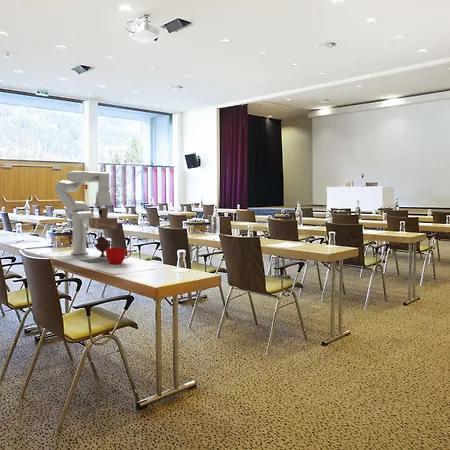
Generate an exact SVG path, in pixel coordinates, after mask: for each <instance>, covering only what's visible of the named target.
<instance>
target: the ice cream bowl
mask: <svg viewBox="0 0 450 450" xmlns="http://www.w3.org/2000/svg"><path fill="white" fill-rule="evenodd" d="M94 246H95V248H96V250H97V251H99V252H100V253H101V254H100V255H98V258H105V257H106V254H105V252H106V249H108V248H111V243H110V242H109V240H108V239H107V238H105V237H104V236H99V237H97V238H96V243H95V244H94ZM106 258H107V257H106Z"/></svg>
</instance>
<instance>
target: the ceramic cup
mask: <svg viewBox="0 0 450 450" xmlns="http://www.w3.org/2000/svg"><path fill="white" fill-rule="evenodd" d="M128 252H129V254H128V256H126V255H127V254H126V253H128ZM105 256H106V260H108V262H107V263H109V264H111V265H118V264H120V265H121V264H122V263H123V262H124V261H125V259H128V258H130V256H132V251H131V250H126V248H122V247H121V248H120V247H109V248H108V249H106V251H105Z"/></svg>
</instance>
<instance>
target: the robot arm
mask: <svg viewBox="0 0 450 450" xmlns="http://www.w3.org/2000/svg"><path fill="white" fill-rule="evenodd" d="M65 176H66V180H60V181H57V182H56V183H55V185H54V191H55V195H56V196H57V197H58V199H59V200H60V201H61V202H62V204H63V206H64V207H65V209H66V210H67V211H68V213H69V214H71V222H72V248H71V249H72V251H70V254H71V255H88V254H89V251H87V228H86V226H85V225H89V217H95V214H94V213H93V211H92V209H91V208H90V206H89V205H88V204H87V203H86V202H85V201H78V200H75V199H74V198H73V196H72V195H71V194H70V193H75V192H77V191H78V190H79V189H80V188H81V186H82V185H83V184H84V183H98V184H97V186H98V189H97V191H96V196H95V203H94V207H96V208H97V209H98V216H99V215H102V209H101V208H103V207H102V206H104V208H107V216H108V215H109V209H110V208H111V207H112V206H113V204H112V201H111V200H112V199H111V192H110V191H111V187H110V173H109V172H103V171H101V172H100V171H99V172H98V171H83V170H71V171H67V173H66V175H65Z"/></svg>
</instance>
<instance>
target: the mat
mask: <svg viewBox="0 0 450 450" xmlns="http://www.w3.org/2000/svg"><path fill="white" fill-rule="evenodd" d="M78 261H79V262H83V263H87V264H96V263H106V262H107V263H109V262H108V260H107V258H106V259H105V258H103V257H98V258H94V257H93V258H83V259H78Z"/></svg>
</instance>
